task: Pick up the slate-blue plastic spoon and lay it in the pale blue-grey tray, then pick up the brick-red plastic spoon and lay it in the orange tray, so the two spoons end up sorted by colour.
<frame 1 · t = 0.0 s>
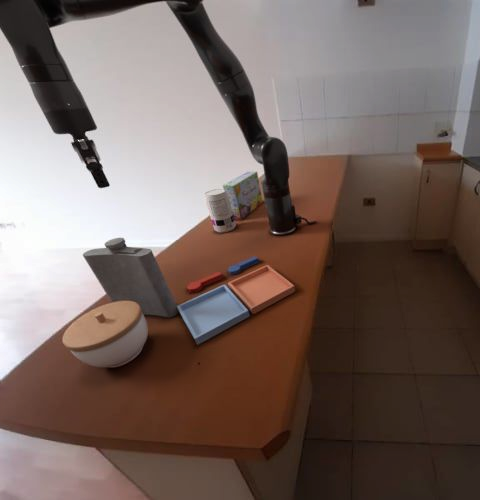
hand: (103, 183, 66), 29 cm above the worktop, tool pointing down, fingers open, 8 cm apart
blue tray: (213, 314, 67), on the worktop
orange tray: (261, 289, 74), on the worktop
blue spoon: (244, 267, 84), on the worktop
red spoon: (206, 283, 78), on the worktop
supplement can: (225, 229, 110), on the worktop
hip flask: (150, 311, 70), on the worktop
snack box: (248, 210, 125), on the worktop
lidded bowl: (124, 353, 59), on the worktop
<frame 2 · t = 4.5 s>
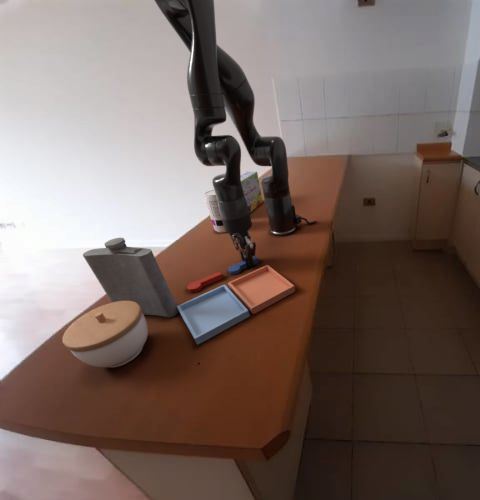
hand: (248, 265, 85), 0 cm above the worktop, tool pointing down, fingers closed on blue spoon, 2 cm apart
blue spoon: (244, 267, 84), on the worktop, touching gripper
everything else where it was.
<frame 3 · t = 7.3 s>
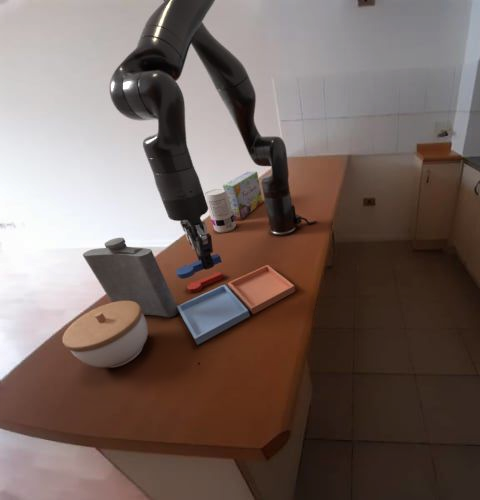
hand: (207, 265, 63), 12 cm above the worktop, tool pointing down, fingers closed on blue spoon
blue spoon: (200, 268, 62), point 12 cm above the worktop, touching gripper
everything else where it was.
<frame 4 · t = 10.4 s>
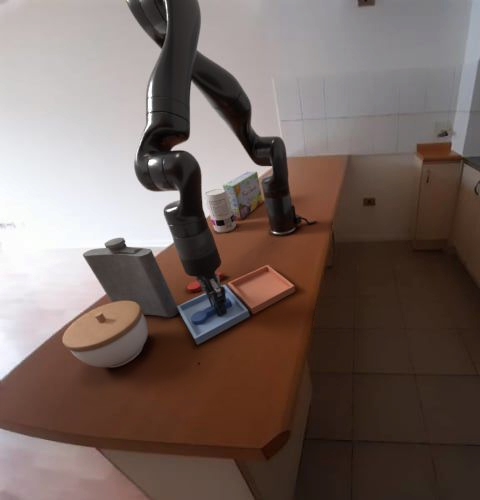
hand: (219, 310, 67), 1 cm above the worktop, tool pointing down, fingers open, 3 cm apart
blue spoon: (213, 313, 67), resting on blue tray
everything else where it was.
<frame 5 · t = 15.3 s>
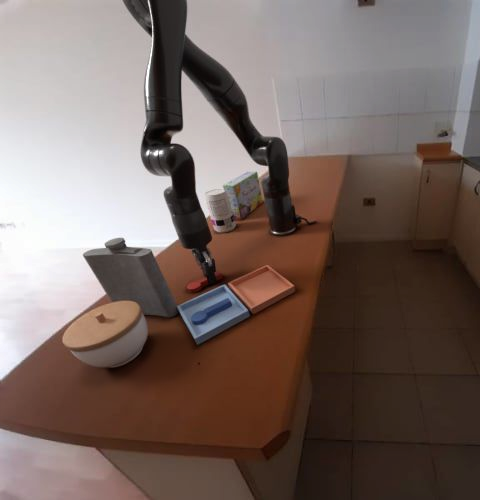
hand: (211, 281, 79), 0 cm above the worktop, tool pointing down, fingers closed on red spoon, 2 cm apart
red spoon: (206, 283, 78), on the worktop, touching gripper
everything else where it was.
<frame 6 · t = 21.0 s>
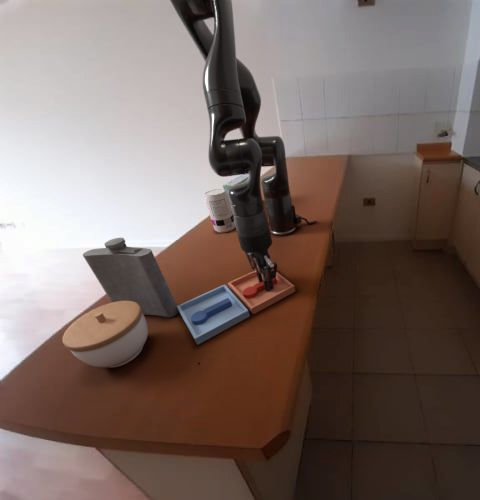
hand: (266, 286, 74), 1 cm above the worktop, tool pointing down, fingers closed
red spoon: (261, 289, 74), resting on orange tray
everything else where it was.
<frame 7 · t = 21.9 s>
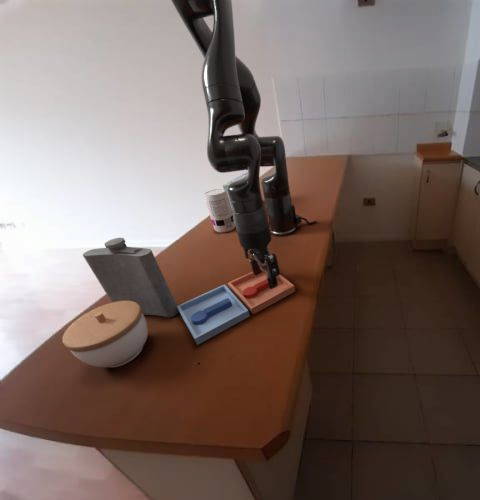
hand: (265, 280, 74), 2 cm above the worktop, tool pointing down, fingers open, 8 cm apart
nothing on the worktop moved.
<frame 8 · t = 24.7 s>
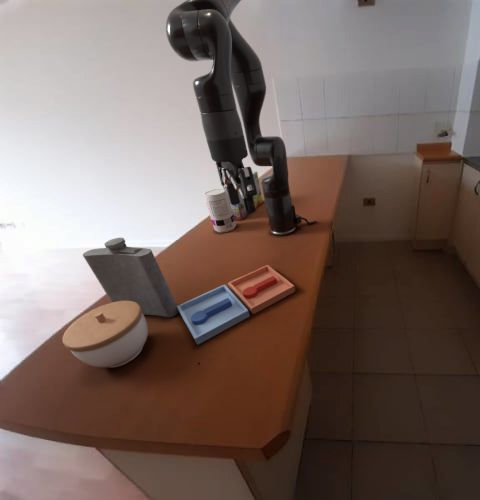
hand: (243, 208, 66), 22 cm above the worktop, tool pointing down, fingers open, 8 cm apart
nothing on the worktop moved.
at the end: blue spoon inside the target area in the blue tray (0.1 cm from its centre), point 0.4 cm above the blue tray's base; red spoon inside the target area in the orange tray (0.1 cm from its centre), point 0.4 cm above the orange tray's base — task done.
